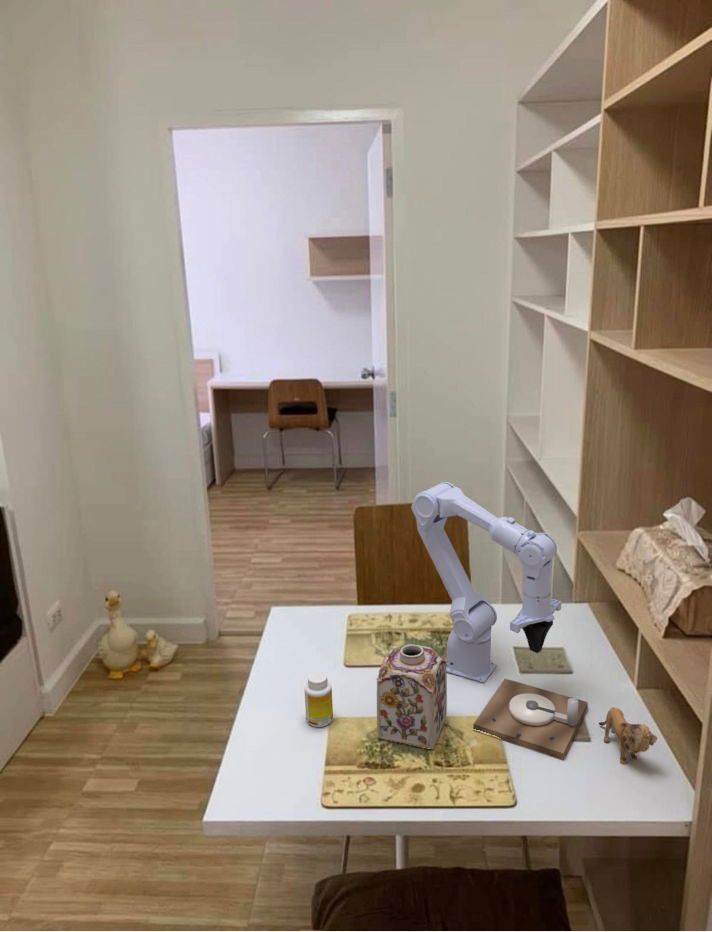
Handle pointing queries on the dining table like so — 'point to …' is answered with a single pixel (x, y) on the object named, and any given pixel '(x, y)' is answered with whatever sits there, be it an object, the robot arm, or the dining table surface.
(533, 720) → the dial
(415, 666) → the decorative jar
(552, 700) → the board
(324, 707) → the supplement bottle
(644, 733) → the lion figurine
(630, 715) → the dining table surface
